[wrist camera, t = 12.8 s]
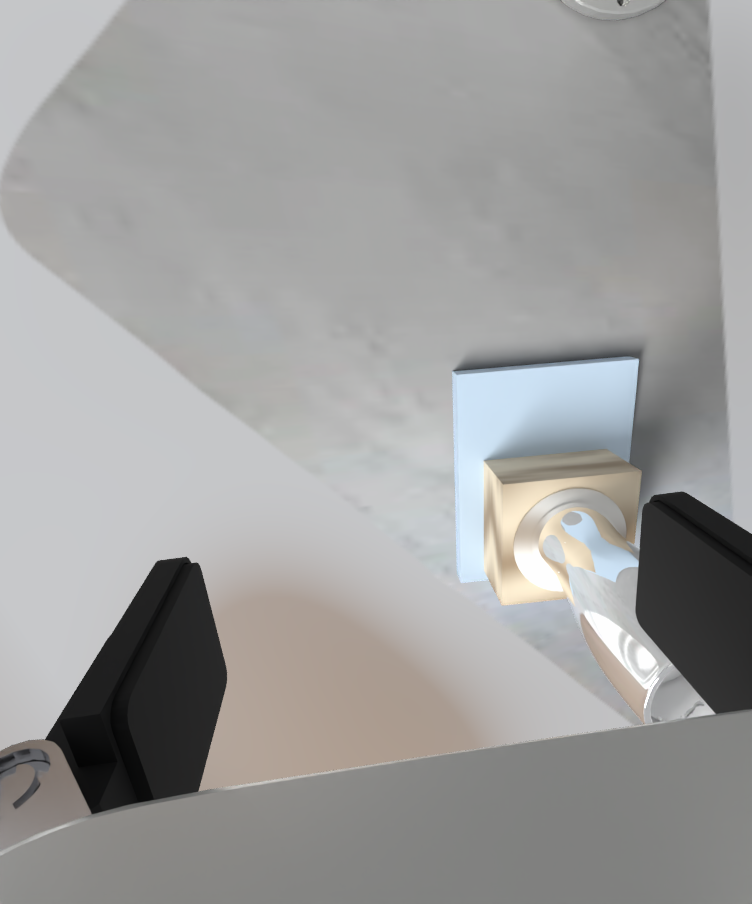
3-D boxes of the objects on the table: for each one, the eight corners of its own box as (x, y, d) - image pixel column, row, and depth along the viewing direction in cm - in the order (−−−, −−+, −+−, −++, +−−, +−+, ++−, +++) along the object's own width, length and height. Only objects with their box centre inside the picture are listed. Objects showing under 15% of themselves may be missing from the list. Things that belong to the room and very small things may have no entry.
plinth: (483, 460, 41) (503, 485, 36) (606, 448, 41) (643, 472, 36) (483, 570, 44) (502, 607, 39) (597, 558, 45) (630, 593, 40)
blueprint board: (452, 371, 40) (456, 374, 38) (628, 356, 41) (639, 359, 39) (457, 573, 46) (461, 582, 44) (610, 557, 46) (619, 565, 45)
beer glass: (618, 488, 37) (798, 624, 22) (616, 572, 39) (778, 743, 25) (522, 503, 36) (642, 651, 22) (526, 587, 39) (637, 768, 25)
